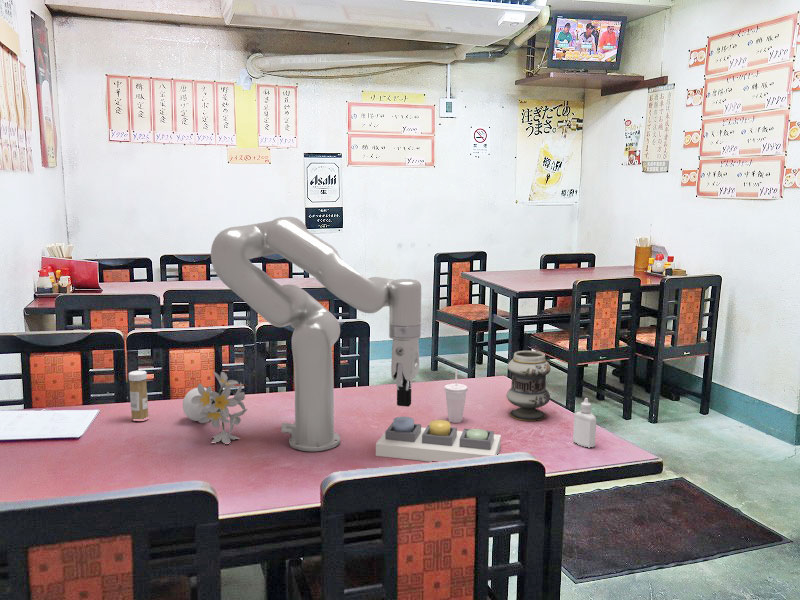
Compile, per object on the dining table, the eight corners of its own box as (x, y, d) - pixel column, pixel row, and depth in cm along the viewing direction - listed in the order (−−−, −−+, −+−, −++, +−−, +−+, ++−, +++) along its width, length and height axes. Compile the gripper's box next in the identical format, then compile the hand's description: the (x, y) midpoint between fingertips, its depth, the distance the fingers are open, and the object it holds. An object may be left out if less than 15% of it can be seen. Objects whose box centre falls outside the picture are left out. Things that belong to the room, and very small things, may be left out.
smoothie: (466, 417, 185) (468, 368, 183) (466, 425, 179) (468, 374, 177) (444, 416, 186) (444, 367, 184) (443, 424, 179) (444, 373, 177)
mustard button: (427, 435, 158) (427, 425, 157) (431, 428, 162) (431, 419, 162) (448, 437, 156) (448, 427, 156) (451, 430, 161) (452, 420, 161)
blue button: (391, 431, 160) (391, 422, 159) (396, 425, 165) (396, 415, 164) (411, 433, 159) (411, 424, 158) (415, 426, 163) (415, 417, 163)
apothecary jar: (519, 406, 196) (521, 346, 193) (556, 414, 188) (559, 352, 185) (497, 416, 186) (500, 353, 184) (536, 425, 179) (539, 360, 176)
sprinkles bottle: (151, 420, 180) (149, 372, 178) (135, 424, 177) (132, 375, 175) (144, 416, 183) (142, 369, 181) (128, 419, 180) (125, 371, 178)
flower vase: (186, 446, 179) (215, 452, 159) (165, 382, 179) (191, 379, 158) (230, 428, 187) (263, 432, 166) (210, 366, 186) (242, 362, 165)
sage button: (464, 444, 156) (465, 435, 155) (467, 437, 161) (468, 428, 160) (486, 446, 155) (486, 437, 154) (488, 439, 159) (488, 429, 159)
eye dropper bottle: (579, 449, 162) (581, 401, 161) (571, 440, 168) (573, 395, 166) (596, 448, 163) (599, 401, 161) (587, 440, 168) (590, 394, 166)
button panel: (375, 455, 157) (375, 435, 156) (391, 435, 170) (391, 416, 170) (494, 468, 150) (494, 447, 149) (500, 446, 163) (501, 427, 163)
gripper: (413, 338, 150) (412, 416, 153) (426, 326, 164) (425, 397, 167) (381, 336, 152) (380, 413, 154) (397, 324, 166) (396, 395, 169)
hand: (404, 405), depth 161 cm, fingers closed
